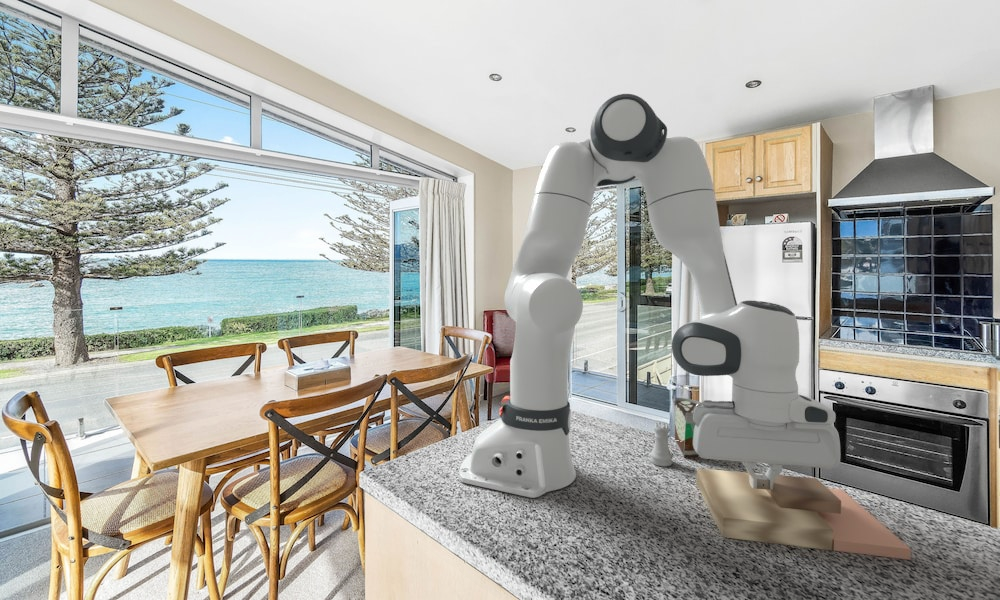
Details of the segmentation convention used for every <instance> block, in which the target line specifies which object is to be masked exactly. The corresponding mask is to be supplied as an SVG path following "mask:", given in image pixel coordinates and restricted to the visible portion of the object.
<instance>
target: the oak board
mask: <svg viewBox="0 0 1000 600" xmlns="http://www.w3.org/2000/svg"><path fill="white" fill-rule="evenodd" d="M754 473H755V472H754ZM755 474H758V473H755ZM760 474H761V475H763V474H764V473H760ZM749 477H750V474H749V473H748V472H743V471H735V470H734V471H733V470H722V469H721V470H720V469H712V468H711V469H709V468H700V467H696V486H697V487H698V489H699V492H700V494H701V496H702V498H703V499H704V502H705V504H706V506H707V508H708V510H709V512H710V514H711V516H712V518H713V520H714V522H715V524H716V526H717V528H718V531H719V533H720V535H721V536H722V538H726V539H727V538H728V539H734V540H735V539H736V540H737V539H738V540H744V541H750V542H751V541H753V542H761V543H770V544H776V545H777V544H778V545H783V546H784V545H785V546H794V547H801V548H810V549H819V550H827V551H833V549H832V540H833V529H832V528H831V527H830V526H829V525H828V524H827V523H826V522H825V521H824V520H823V518H822V517H821V516H820V515H819V514H818V513H817V512H816V511H809V510H799V509H790V508H781V507H779V505H778V504H777V503H776V502H775V500H774V499H773V498H772V497H771V495H770V494H769V493H768V492H767V490H766V489H754V488H752V487H751V486H750V482H749Z"/></svg>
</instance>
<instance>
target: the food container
mask: <svg viewBox="0 0 1000 600" xmlns="http://www.w3.org/2000/svg"><path fill="white" fill-rule="evenodd" d="M699 403H702V402H701V401H698V400H695V399H690V398H686V397H685V398H684V397H674V400H673V406H674V442H675V444H676V446H677V448H678V450H679V452H680V453H681V455H682V457H683V459H696V458H697V459H698V458H701V457H700V456H699V455H698V454H697V452H696V451H695V449H694V447H693V435H694V428H695V424H694V421H693V409H694V407H695V406H696V405H697V404H699ZM701 406H703V405H701ZM675 440H679V441H675ZM680 441H682V442H680Z"/></svg>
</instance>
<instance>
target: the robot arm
mask: <svg viewBox="0 0 1000 600" xmlns="http://www.w3.org/2000/svg"><path fill="white" fill-rule="evenodd" d="M589 133H590V138H588V139H586V140H585V141H581V142H575V141H564V142H559V143H558V144H556V145H554V146H553V147H552V148H551V149H550V151H549V152H548V153H547V156H546V158H545V161H544V162H543V164H542V167H541V170H540V173H539V176H538V178H537V182H536V186H535V189H534V192H533V196H532V202H531V205H530V206H531V207H530V209H529V213H528V219H527V223H526V227H525V231H524V235H523V238H522V242H521V245H520V247H519V251H518V252H517V256H516V259H515V261H514V264H513V268H512V270H511V273H510V276H509V278H508V283H507V285H506V289H505V292H504V298H503V302H504V306H505V308H504V309H505V310H506V312H507V314H508V316H509V317H510V319H511V320H513V322H515V333H514V339H513V340H514V341H513V342H514V343H513V347H512V348H513V349H512V354H511V358H510V360H509V364H510V365H509V372H510V373H509V375H510V376H509V382H510V383H509V392H510V393H509V395H505V396H504V397H503V398H502V400H501V404H500V406H499V413H498V414H499V417H500V418H499V419H498V420H496V421H495V422H494V423H492V424H491V425H490V426H488V427H486V428H485V429H484V430H483V431H481V432H480V433H479V435H478V436H477V437H476V438H475V441H474V443H473V446H472V449H471V453H470V454H468V455H467V456H466V457H465V459H464V460H463V461H462V463H461V465H460V467H459V475H458V476H459V479H460V482H461V483H465V484H468V485H473V486H477V487H481V488H486V489H491V490H495V491H500V492H504V493H509V494H514V495H517V496H522V497H525V498H526V497H527V498H533V499H534V498H539V497H541V496H542V495H545V494H546V493H549V492H552V491H556V490H561V489H564V488H565V487H567V486H569V485H571V484H572V483H573V482H574V481H575V480H576V478H577V472H576V468H575V465H574V462H573V457H572V451H571V446H570V430H571V416H572V415H571V412H572V411H571V405H570V402H569V400H568V399H569V397H568V396H569V393H568V392H569V388H568V386H569V385H568V383H569V378H568V377H569V361H570V355H571V354H570V353H571V348H572V344H573V339H574V338H573V337H574V334H575V329H576V325H577V324H578V323H579V321H580V319H581V316H582V314H583V309H584V302H583V297H582V293H580V291H579V289H578V288H577V286H576V285H575V284H574V283H572V282H571V281H570V280H569V279H567V277H568V275H569V271H570V270H571V268H572V265H573V264H574V261H575V259H576V257H577V256H578V254H579V253H580V252H581V249H582V246H583V243H584V238H585V235H586V230H587V226H588V221H589V217H590V213H591V208H592V204H593V200H594V196H595V191H596V189H597V187H603V186H611V185H612V186H613V185H624V184H627V183H629V182H632V181H633V180H635V179H638V181H639V182H640V184H641V186H642V187H643V191H644V192H645V201H646V206H647V212H648V218H649V222H650V226H651V228H652V231H653V234H654V236H655V238H656V241H657V242H658V244H659V245H660V246H661V247H662V248H664V249H665V250H666V251H668V252H670V253H671V254H672V255H674V256H675V257H676V258H677V259H678V260H680V262H681V263H682V264H684V266H685V267H686V268H687V270H688V272H689V273H690V276H691V280H692V282H693V283H692V284H693V286H694V291H695V295H696V299H697V303H698V308H699V311H700V317H699V319H695V320H692V321H689V322H687V323H685V324H682V326H680V327H679V328H678V329H677V330H676V331H675V332H674V334H673V337H672V341H671V351H672V356H673V358H674V360H675V361H676V363H677V364H678V366H679V367H680V368H681V369H682V370H684V371H686V372H687V373H689V374H692V375H694V376H701V377H710V376H711V377H713V376H714V377H715V376H718V377H719V376H720V377H721V376H729V377H731V378H732V383H731V385H732V386H731V387H732V389H731V392H732V393H731V400H729V401H728V400H726V401H725V400H719V401H718V400H716V401H715V400H707V399H706V400H705V399H704V400H703V401H702V402H701V403H699V404H697V405H696V406H695V407H694V409H693V421H694V424H695V428H694V435H693V447H694V449H695V451H696V452H697V454H698V455H699V456H700V457H699V458H701V459H708V460H716V461H717V460H720V461H733V462H741V464H742V465H743V466H744V468H745V469H746V471H747V473H749V474H750V477H749V482H750V486H751V487H752V488H754V489H766V490H773V484H774V480H775V479H776V478H777V477H778V476H779V475H781V473H782V472H783V466H792V467H794V466H795V467H807V468H817V469H829V470H831V469H832V470H833V469H836V467H837V466H838V465H839V464H840V463H841V441H840V435H839V432H838V430H837V428H836V426H834V425H833V424H834V423H835V422H836V418H837V417H836V416H837V415H836V412H835V411H834V410H833V409H831V408H830V407H829V406H827V405H826V404H823V403H822V402H820V401H818V400H815V399H814V398H812V397H808V396H804V395H801V394H799V384H798V381H797V377H796V372H797V368H798V365H799V363H800V332H799V324H798V320H797V318H796V315H795V314H794V312H792V310H791V309H789V308H788V307H787V306H784V305H780V304H778V303H773V302H767V301H760V300H744V301H740V302H739V303H737V302H738V301H737V299H736V295H735V291H734V287H733V282H732V279H731V278H732V277H731V274H730V271H729V267H728V263H727V259H726V256H725V251H724V245H723V239H722V233H721V228H720V227H721V225H720V220H719V219H720V217H719V210H718V204H717V198H716V193H715V188H714V184H713V179H712V176H711V173H710V169H709V166H708V164H707V160H706V158H705V155H704V153H703V150H702V149H701V146H700V144H699V143H698V142H697V141H695V140H694V139H693V138H691V137H687V136H673V137H668V138H667V136H668V128H667V125H666V124H665V123H664V122H663V121H662V119H660V117H658V115H657V114H656V113H655V110H653V108H652V107H651V105H650V104H649V103H648V101H645V99H643V97H641V96H639V95H635V94H632V93H621V94H616V95H614V96H612V97H610V98H608V99H607V100H606V101H605V102H603V104H602V105H601V106H600V107H599V108H598V109H597V111H596V113H595V115H594V117H593V120H592V122H591V125H590V132H589ZM701 405H703V406H701ZM757 464H767V465H768V468H767V470H766V472H765V473H764V474H765V475H761V474H762V473H757V474H755V471H754V470H753V469H757Z"/></svg>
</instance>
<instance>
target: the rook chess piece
mask: <svg viewBox="0 0 1000 600" xmlns="http://www.w3.org/2000/svg"><path fill="white" fill-rule="evenodd" d="M652 429H653V431H655V434H654V438H655V439H654V446H653V448H652V450H651V451H650V457H649V461H650V462H651V463H652V464H653V465H655V466H658V467H663V468H665V467H670V466H671V465H673V463H674V462H673V460H672V459H673V454H672V453H671V450H670V449H669V438H670V436H669V435H668V434H669V433H670V432H671V429H670V428H669V424H668V423H666V422H662V423H661V422H660V421H659V422H658V421H657V422H655V424H654V427H652Z"/></svg>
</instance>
